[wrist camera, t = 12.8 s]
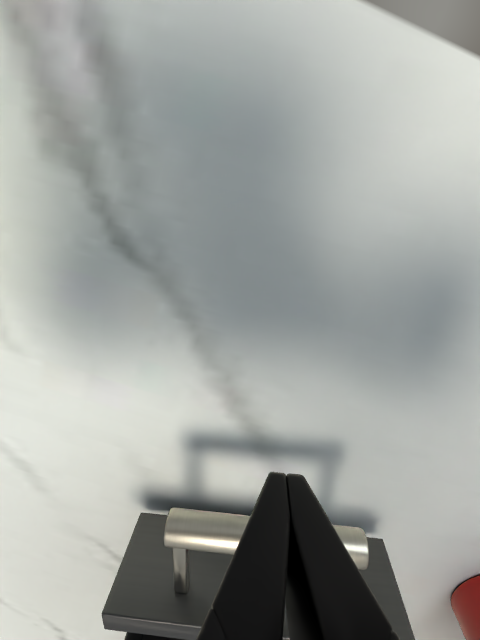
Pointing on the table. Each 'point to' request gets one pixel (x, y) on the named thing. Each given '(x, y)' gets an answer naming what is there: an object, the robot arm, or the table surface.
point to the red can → (468, 607)
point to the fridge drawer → (212, 574)
